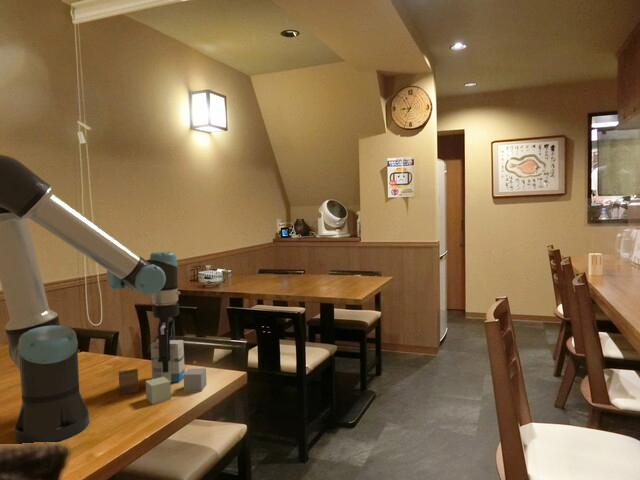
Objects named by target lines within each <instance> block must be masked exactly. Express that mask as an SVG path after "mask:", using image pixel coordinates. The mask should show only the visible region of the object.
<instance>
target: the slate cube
mask: <svg viewBox="0 0 640 480" xmlns="http://www.w3.org/2000/svg"><path fill="white" fill-rule="evenodd" d="M206 386H207V368H206V367H205V368H204V367H203V368H200V367H199V368H188V369H187V370H186V371H185V373H184V374H183V392H186V393H188V392H189V393H190V392H192V393H194V392H203V390H204V389H205V387H206Z"/></svg>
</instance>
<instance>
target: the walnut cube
mask: <svg viewBox="0 0 640 480" xmlns="http://www.w3.org/2000/svg"><path fill="white" fill-rule="evenodd" d="M118 383H119V384H118V390H119V391H118V392H119V395H121V394H128V393H134V392H139V390H140V389H139V371H138V368H134V369H127V370H121V371H118Z"/></svg>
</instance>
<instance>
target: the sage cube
mask: <svg viewBox="0 0 640 480" xmlns="http://www.w3.org/2000/svg"><path fill="white" fill-rule="evenodd" d="M171 390H172V389H171V382H170V381H169V380H168V379H166V378H165V377H160V378H156V379H152V378H151V379H148V380H145V399H146V400H147V401H149V403H151V404H152V405H154V404H158V403H162V402H166V401H169V400H172V391H171Z"/></svg>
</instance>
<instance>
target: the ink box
mask: <svg viewBox="0 0 640 480" xmlns="http://www.w3.org/2000/svg"><path fill="white" fill-rule="evenodd" d="M150 358H151V359H150V360H151V363H150V364H151V380H152V379H156V378H160V377H161V362H158V360H159V339H157V340H156V341H153V342H152V343H150ZM170 360H171V377H172V382H171V383H180V382H181V381H182V380H184V378H183V374H184V373H185V372H186V371H185V350H184V340H183V339H175V340H170Z"/></svg>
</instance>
